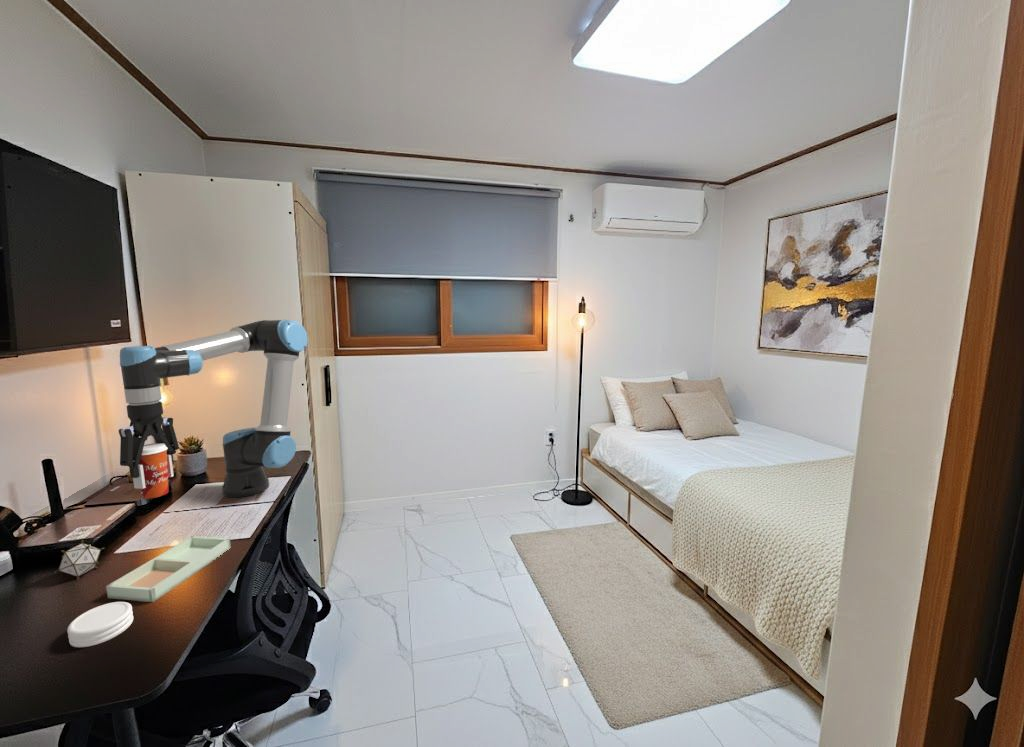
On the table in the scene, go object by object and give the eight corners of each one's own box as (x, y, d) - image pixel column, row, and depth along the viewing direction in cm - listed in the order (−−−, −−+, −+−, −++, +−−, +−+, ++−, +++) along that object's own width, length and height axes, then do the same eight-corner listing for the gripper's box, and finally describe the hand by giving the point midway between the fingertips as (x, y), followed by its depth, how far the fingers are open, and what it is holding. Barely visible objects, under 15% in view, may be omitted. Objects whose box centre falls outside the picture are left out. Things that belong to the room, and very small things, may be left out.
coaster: (83, 622, 95) (81, 607, 95) (141, 610, 99) (139, 595, 98) (58, 655, 86) (55, 639, 86) (123, 639, 90) (120, 624, 89)
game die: (75, 592, 112) (36, 575, 105) (86, 565, 118) (49, 548, 112) (110, 571, 113) (73, 553, 107) (118, 545, 120) (84, 527, 113)
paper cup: (153, 501, 120) (147, 451, 118) (131, 499, 121) (124, 450, 119) (180, 489, 127) (174, 442, 125) (159, 487, 129) (152, 441, 127)
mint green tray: (193, 546, 126) (191, 536, 126) (230, 548, 124) (229, 538, 124) (107, 598, 103) (106, 586, 103) (152, 602, 101) (151, 590, 101)
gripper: (166, 395, 131) (175, 468, 134) (91, 410, 111) (104, 496, 114) (188, 395, 130) (197, 469, 133) (117, 411, 110) (129, 497, 113)
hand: (154, 481), depth 124 cm, fingers closed on paper cup, 8 cm apart
